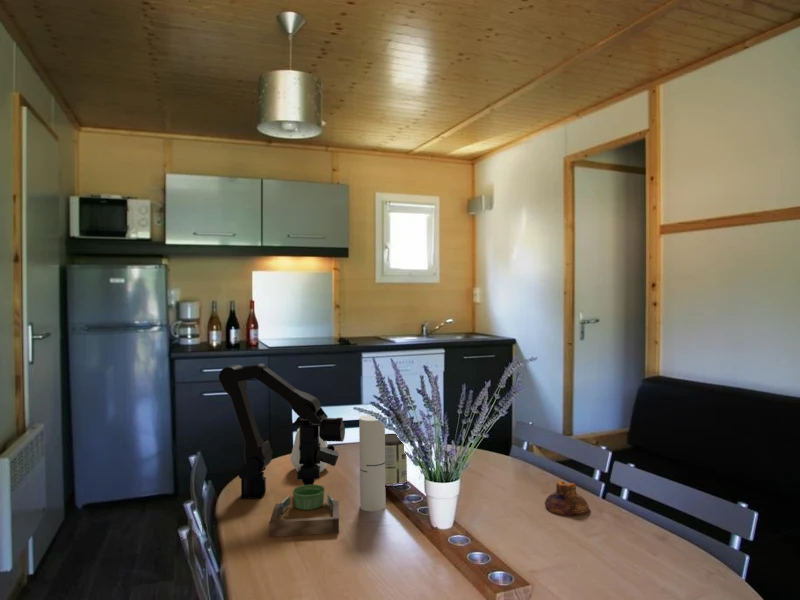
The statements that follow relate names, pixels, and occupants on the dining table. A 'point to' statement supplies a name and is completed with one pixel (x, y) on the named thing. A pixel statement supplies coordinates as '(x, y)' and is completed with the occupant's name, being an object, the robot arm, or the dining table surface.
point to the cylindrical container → (372, 464)
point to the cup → (296, 453)
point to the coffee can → (395, 460)
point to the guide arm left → (285, 504)
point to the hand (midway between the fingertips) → (310, 493)
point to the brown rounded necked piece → (566, 501)
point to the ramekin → (308, 496)
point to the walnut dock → (303, 523)
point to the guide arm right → (330, 501)
